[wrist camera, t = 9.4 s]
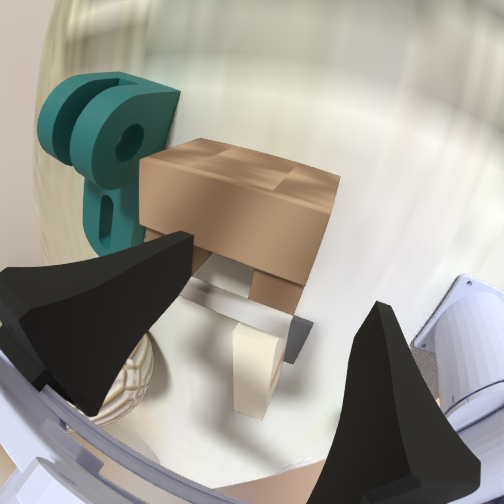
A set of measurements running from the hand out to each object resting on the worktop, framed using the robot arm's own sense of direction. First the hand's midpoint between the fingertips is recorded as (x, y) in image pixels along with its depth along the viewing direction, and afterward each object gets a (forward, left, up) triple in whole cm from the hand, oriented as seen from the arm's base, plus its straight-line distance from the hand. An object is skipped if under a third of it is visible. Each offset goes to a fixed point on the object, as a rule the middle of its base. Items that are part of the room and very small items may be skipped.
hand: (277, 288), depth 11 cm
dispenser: (+4, +2, -10) cm, 11 cm away
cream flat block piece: (0, +14, -9) cm, 17 cm away
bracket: (+16, +3, -10) cm, 20 cm away
